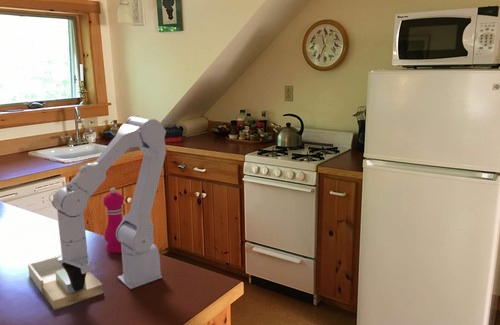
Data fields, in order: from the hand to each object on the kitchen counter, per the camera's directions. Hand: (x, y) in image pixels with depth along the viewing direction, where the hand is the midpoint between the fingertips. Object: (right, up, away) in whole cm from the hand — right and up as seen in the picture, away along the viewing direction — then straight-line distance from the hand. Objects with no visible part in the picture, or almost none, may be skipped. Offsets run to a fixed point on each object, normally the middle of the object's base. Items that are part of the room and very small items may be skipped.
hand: (78, 289), depth 108 cm
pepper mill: (0, +4, +31) cm, 31 cm away
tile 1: (-5, +1, +6) cm, 8 cm away
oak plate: (-3, -2, +5) cm, 6 cm away
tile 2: (-2, 0, +3) cm, 3 cm away
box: (-10, 0, +13) cm, 16 cm away
